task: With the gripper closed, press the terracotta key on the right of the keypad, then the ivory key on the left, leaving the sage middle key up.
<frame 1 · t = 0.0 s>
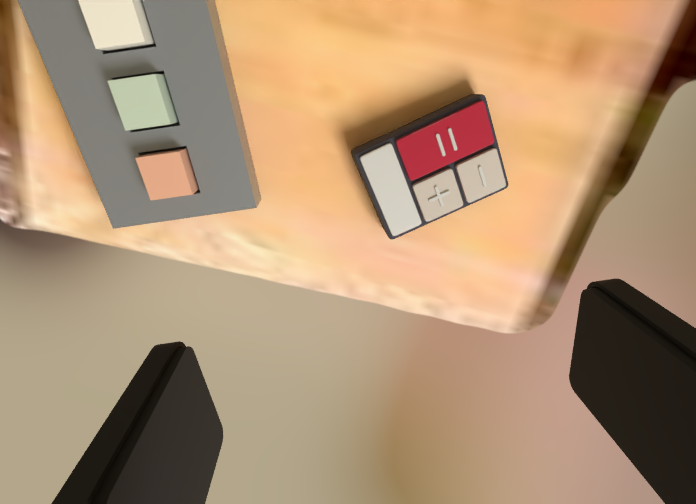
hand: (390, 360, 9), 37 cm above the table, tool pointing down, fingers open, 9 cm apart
key sage: (145, 102, 36), point 4 cm above the table, slide at 0.0 cm
keypad: (160, 100, 40), on the table
key ivory: (117, 18, 34), point 4 cm above the table, slide at 0.0 cm
button control box: (425, 165, 45), on the table
key terracotta: (169, 173, 39), point 4 cm above the table, slide at 0.0 cm
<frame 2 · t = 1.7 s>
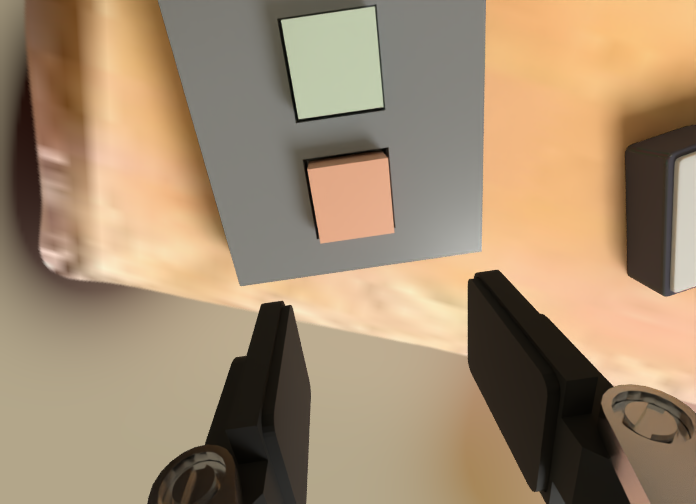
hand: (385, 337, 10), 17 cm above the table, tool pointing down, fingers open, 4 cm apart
key sage: (334, 66, 20), point 4 cm above the table, slide at 0.0 cm
keypad: (332, 69, 23), on the table
key terracotta: (351, 196, 22), point 4 cm above the table, slide at 0.0 cm
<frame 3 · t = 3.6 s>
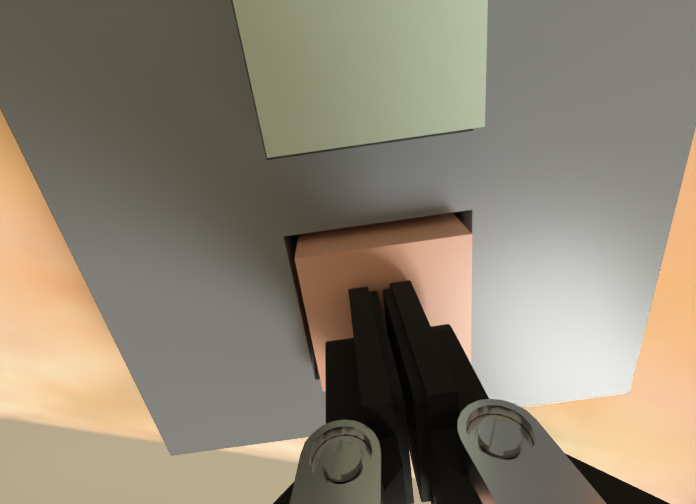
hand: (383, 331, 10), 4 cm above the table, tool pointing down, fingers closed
key sage: (358, 23, 8), point 4 cm above the table, slide at 0.0 cm
keypad: (348, 40, 11), on the table
key terracotta: (384, 295, 11), point 3 cm above the table, slide at 0.7 cm, touching gripper
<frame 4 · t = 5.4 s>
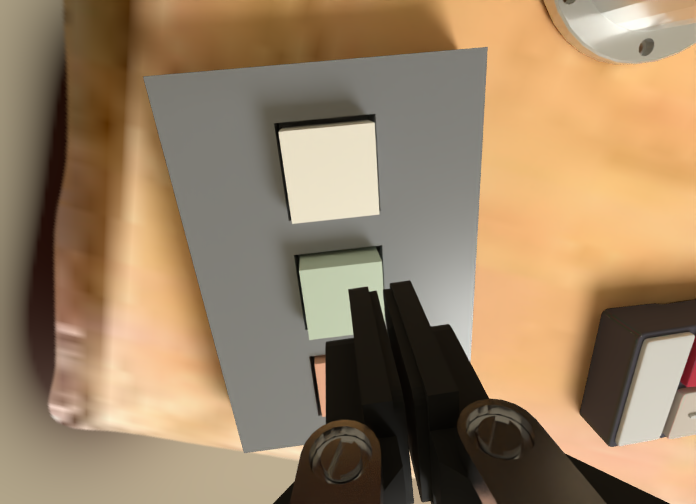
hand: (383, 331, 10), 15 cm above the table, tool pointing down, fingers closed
key sage: (342, 291, 22), point 4 cm above the table, slide at 0.0 cm
keypad: (338, 264, 25), on the table
key ivory: (330, 170, 19), point 4 cm above the table, slide at 0.0 cm
button control box: (670, 351, 32), on the table
key terracotta: (350, 374, 26), point 3 cm above the table, slide at 1.1 cm
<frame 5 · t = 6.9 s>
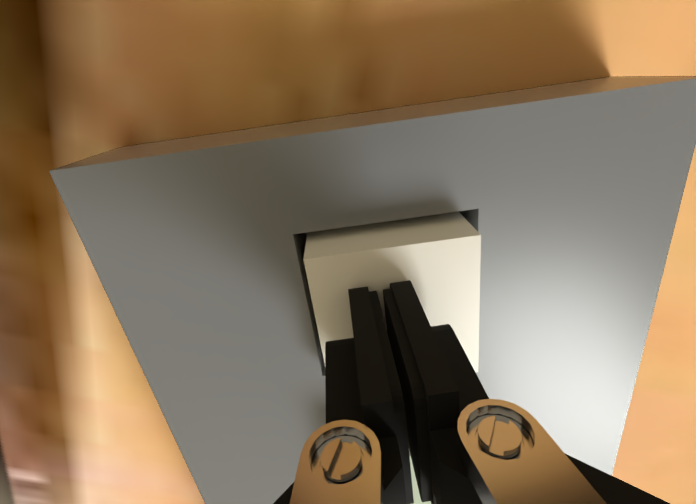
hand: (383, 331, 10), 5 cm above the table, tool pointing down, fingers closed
key sage: (409, 465, 14), point 4 cm above the table, slide at 0.0 cm
keypad: (393, 388, 17), on the table
key ivory: (391, 296, 11), point 3 cm above the table, slide at 0.5 cm, touching gripper
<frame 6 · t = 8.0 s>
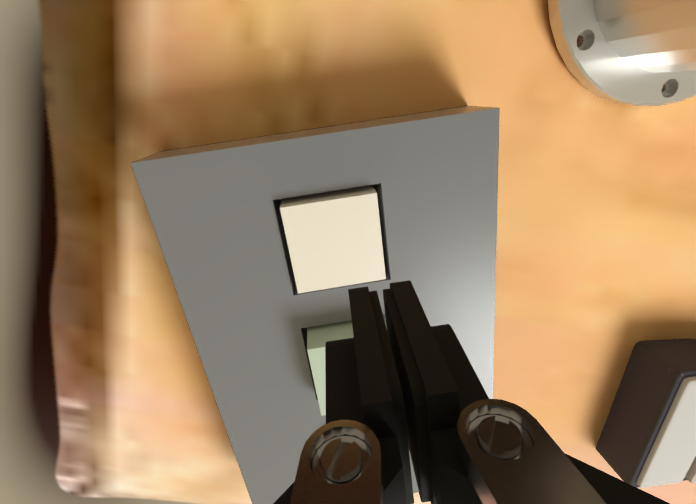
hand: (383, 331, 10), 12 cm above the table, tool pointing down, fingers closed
key sage: (354, 361, 21), point 4 cm above the table, slide at 0.0 cm
keypad: (347, 323, 24), on the table
key ivory: (334, 236, 19), point 3 cm above the table, slide at 1.1 cm
button control box: (695, 389, 30), on the table
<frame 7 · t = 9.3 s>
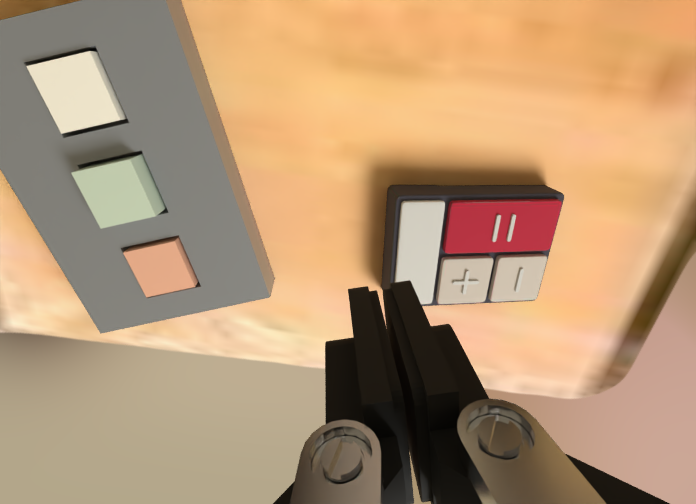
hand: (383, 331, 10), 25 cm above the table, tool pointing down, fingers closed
key sage: (122, 190, 29), point 4 cm above the table, slide at 0.0 cm
keypad: (143, 178, 32), on the table
key ivory: (85, 93, 27), point 3 cm above the table, slide at 1.1 cm
button control box: (459, 238, 37), on the table
key terracotta: (165, 263, 33), point 3 cm above the table, slide at 1.1 cm
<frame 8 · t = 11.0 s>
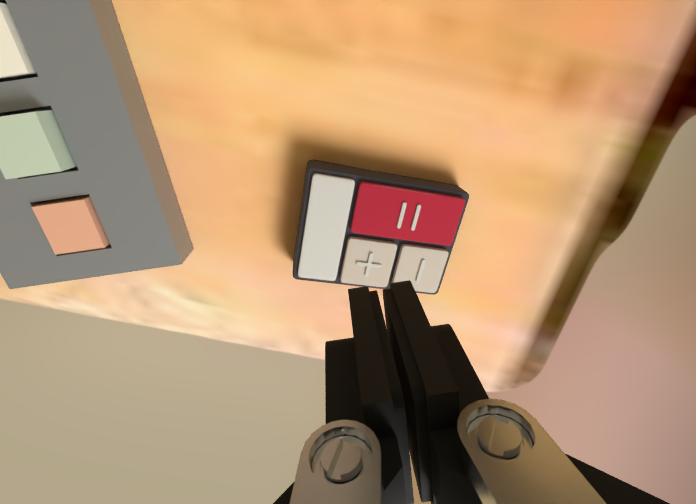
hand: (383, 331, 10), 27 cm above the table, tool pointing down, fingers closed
key sage: (31, 144, 29), point 4 cm above the table, slide at 0.0 cm
keypad: (61, 137, 33), on the table
button control box: (373, 224, 39), on the table
key terracotta: (77, 222, 33), point 3 cm above the table, slide at 1.1 cm
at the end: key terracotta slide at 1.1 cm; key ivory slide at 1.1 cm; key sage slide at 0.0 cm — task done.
